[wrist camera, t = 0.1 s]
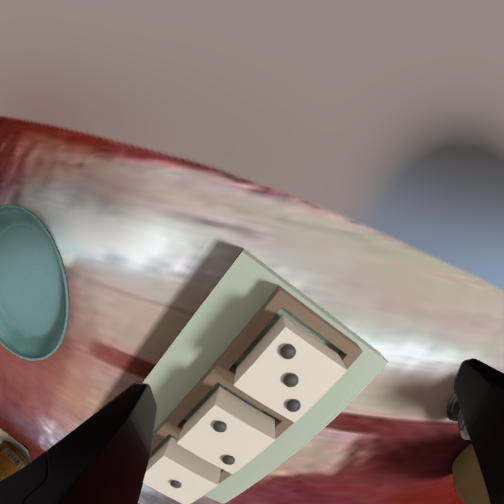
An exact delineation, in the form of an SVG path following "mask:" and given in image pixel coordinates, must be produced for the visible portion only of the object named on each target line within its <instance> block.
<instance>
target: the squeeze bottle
mask: <svg viewBox="0 0 504 504" xmlns="http://www.w3.org/2000/svg"><path fill="white" fill-rule="evenodd" d="M452 473H453V479H454V486H455V492H456V493H457V494H458V495H459V496H460V498H461V499H462V500H463V501H464V502H465V503H466V504H490V500H489V496H488V493H487V489H486V486H485V482H484V479H483V476H482V473H481V469H480V466H479V463H478V460H477V457H476V454H475V452H474V449H473V446H472V443H471V444H470V445H468V446H467V447H466V448H465V449H464V450H463V451H462V452H461V453H460V454H459V455H458V456H457V458H456V459H455V460H454V462H453V465H452Z"/></svg>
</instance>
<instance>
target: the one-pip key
mask: <svg viewBox="0 0 504 504" xmlns="http://www.w3.org/2000/svg"><path fill="white" fill-rule="evenodd" d="M177 441H178V440H176V439H175V438H173V437H171V438H170V439H169V440H168V441H167V442H166V443H165V444H164V445H163V446H162V447H161V448H160V449H159V450H158V451H157V452H156V453H155V454H154V455H153V456H152V457H151V458H150V459H149V462H148V466H147V469H146V473H145V477H144V480H143V483H145V484H146V485H148V486H150V487H152V488H153V489H155V490H157V491H159V492H160V493H162V494H164V495H166V496H168V497H170V498H172V499H174V500H176V501H177V502H179V503H181V504H191V503H193V502H194V501H196V500H197V499H199V498H200V497H202V496H203V495H205V494H206V493H208V492H209V491H211V490H212V489H214V488H215V487H216V486H218V484H219V478H220V472H221V468H219V467H217V466H215V465H213V464H212V463H210V462H208V461H206V460H204V459H202V458H201V457H199V456H197V455H195V454H194V453H192V452H190V451H189V450H187V449H185V448H183V447H182V446H180V445H179V444H177Z"/></svg>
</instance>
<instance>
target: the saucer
mask: <svg viewBox="0 0 504 504" xmlns="http://www.w3.org/2000/svg"><path fill="white" fill-rule="evenodd" d="M68 316H69V288H68V281H67V275H66V271H65V267H64V264H63V261H62V258H61V255H60V253H59V250H58V248H57V246H56V244H55V242H54V240H53V238H52V237H51V235H50V233H49V232H48V230H47V229H46V227H45V226H44V225H43V224H42V222H41V221H40V220H39V219H38V218H37V217H36V216H35V215H34V214H33V213H31V212H30V211H29V210H27V209H25V208H23V207H21V206H17V205H3V206H0V343H1V344H2V345H3V346H4V347H5V348H6V349H7V350H9V351H10V352H11V353H13V354H15V355H16V356H18V357H20V358H23V359H26V360H31V361H38V360H43V359H45V358H47V357H49V356H51V355H52V354H53V353H54V352H55V351H56V350H57V349H58V347H59V346H60V344H61V342H62V340H63V337H64V335H65V331H66V327H67V322H68Z"/></svg>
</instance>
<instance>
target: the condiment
mask: <svg viewBox="0 0 504 504" xmlns="http://www.w3.org/2000/svg"><path fill="white" fill-rule="evenodd" d="M6 439H7V440H6ZM30 462H31V458H30V455H29V452H28V450H27V449H26V448H25V447H24V446H23V445H21V444H20V443H19V442H17V441H16V440H15V439H14V438H12V437H11V436H9V435H8V433H6V432H4V431H3V430H2V429H1V428H0V481H1V480H3V479H4V478H6V477H8V476H10V475H12V474H13V473H15V472H17V471H18V470H20V469H21V468H23V467H25V466H26V465H28V464H29V463H30Z"/></svg>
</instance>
